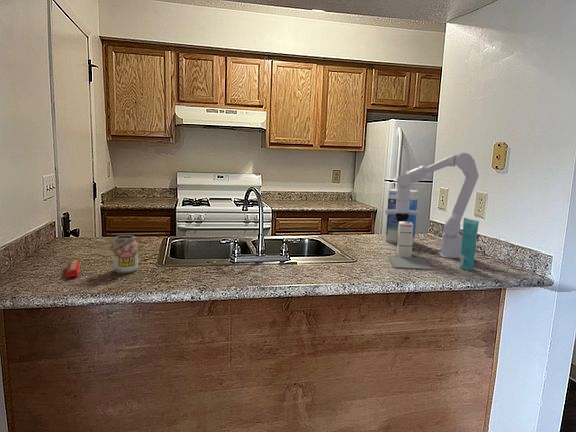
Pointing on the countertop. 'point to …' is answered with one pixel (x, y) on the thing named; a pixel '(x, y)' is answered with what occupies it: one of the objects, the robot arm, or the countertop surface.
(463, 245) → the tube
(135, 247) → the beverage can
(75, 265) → the candy bar
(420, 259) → the mat
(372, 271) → the countertop surface
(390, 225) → the string lights box
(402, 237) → the syrup box
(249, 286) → the countertop surface
